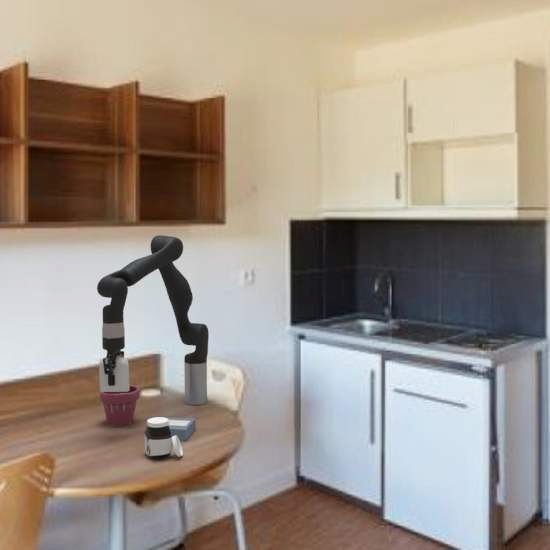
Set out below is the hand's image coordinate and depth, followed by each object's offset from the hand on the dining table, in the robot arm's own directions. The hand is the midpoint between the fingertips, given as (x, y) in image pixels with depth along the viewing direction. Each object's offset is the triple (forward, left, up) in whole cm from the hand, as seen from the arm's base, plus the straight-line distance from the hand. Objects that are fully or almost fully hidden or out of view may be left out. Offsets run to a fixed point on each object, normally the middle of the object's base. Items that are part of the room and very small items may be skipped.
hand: (114, 383), depth 230 cm
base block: (-6, +19, -19) cm, 27 cm away
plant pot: (-16, -4, -19) cm, 25 cm away
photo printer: (0, 0, -3) cm, 3 cm away
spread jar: (+15, +23, -19) cm, 33 cm away
